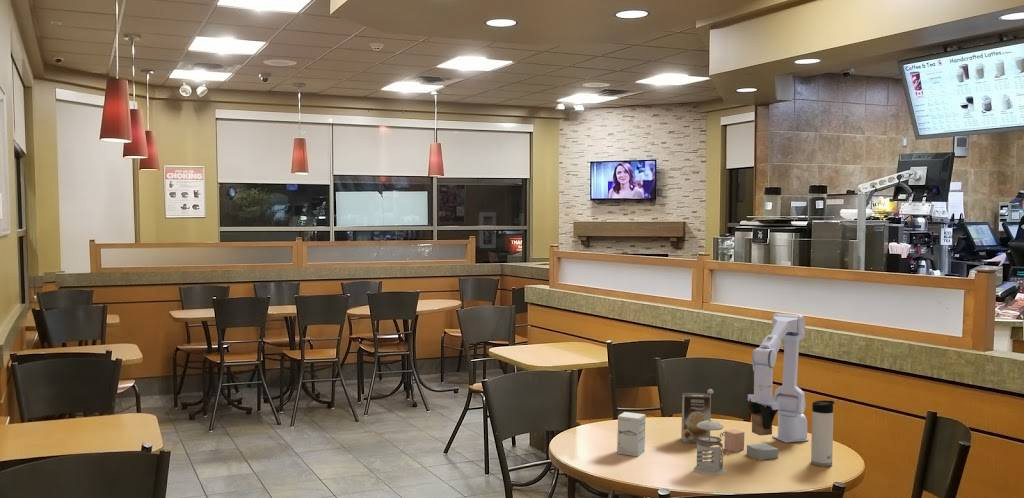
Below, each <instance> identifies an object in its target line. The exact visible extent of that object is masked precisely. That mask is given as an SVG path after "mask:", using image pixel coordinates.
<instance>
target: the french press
mask: <svg viewBox="0 0 1024 498" xmlns="http://www.w3.org/2000/svg"><path fill="white" fill-rule="evenodd" d="M714 393H715V392H714V390H713V389H712V388H709V389H708V390H707V392H706V394H709V395H710V414H711V411H712V410H711V407H712V405H711V404H712V402H711V401H712V399H711V397H712V394H714ZM697 427H698V428H700V429H703V430H710V431H720V430H722V429H724V425H723V424H721V423H720V422H719V421H717V420H712V419H710V420H706V421H702V422H699V423H698V424H697ZM725 434H726V433H725V431H723V432H720V434H719V436H714V435H711V432H710V433H709V436H700V437H698V440H699V442H697V443H696V465H695V466H694V467H693V468H692V469H693V471H694V472H695V473H698V474H702V475H707V476H719V475H724V474H725V473H727V471H726V469H725V468H724V465H723V464H724V457H725V456H728V455H729V454H730V452H732V451H731V448H730V450H729V441H728V439H727V437H726V436H725ZM726 435H727V434H726ZM727 436H728V435H727ZM722 437H724V438H725V437H726V439H727V441H728V450H727V451H726V453H725V454H723V451H724V450H723V449H724V445H723V444H724V443H722V441H723V439H722ZM728 437H729V436H728ZM729 439H730V437H729ZM730 442H731V439H730ZM731 445H732V443H731ZM714 446H715V447H714Z"/></svg>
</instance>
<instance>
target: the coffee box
mask: <svg viewBox="0 0 1024 498" xmlns="http://www.w3.org/2000/svg"><path fill="white" fill-rule="evenodd" d="M681 407H682V408H681V436H680V437H681V441H682V442H683V443H692V444H697V442H699V440H698V437H700V436H709V433H710V434H711V430H703V429H700V428H698V427H697V424H698V423H699V422H702V421H706V420H711V413H710V394H709V393H701V392H700V393H698V392H682V403H681Z"/></svg>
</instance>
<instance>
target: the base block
mask: <svg viewBox="0 0 1024 498" xmlns="http://www.w3.org/2000/svg"><path fill="white" fill-rule="evenodd" d="M746 455H748V456H750V457H751V458H753V459H756V460H759V461H764V460H774V459H779V448H777V447H774V446H772V445H769V444H768V443H765V442H764V443H754V444H753V443H751V444H746Z"/></svg>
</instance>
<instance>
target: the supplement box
mask: <svg viewBox="0 0 1024 498" xmlns="http://www.w3.org/2000/svg"><path fill="white" fill-rule="evenodd" d="M646 416H647V415H646V414H644V413H636V412H628V411H624V412H622V413H620V414H619V415H618V416H617V435H616V436H617V441H616V443H617V445H616V447H617V448H616V450H617V451H616V454H617V455H626V456H630V457H631V456H632V457H638V458H639V456H641V455H643V454H644V453H645V450H646V449H645V448H646Z"/></svg>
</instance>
